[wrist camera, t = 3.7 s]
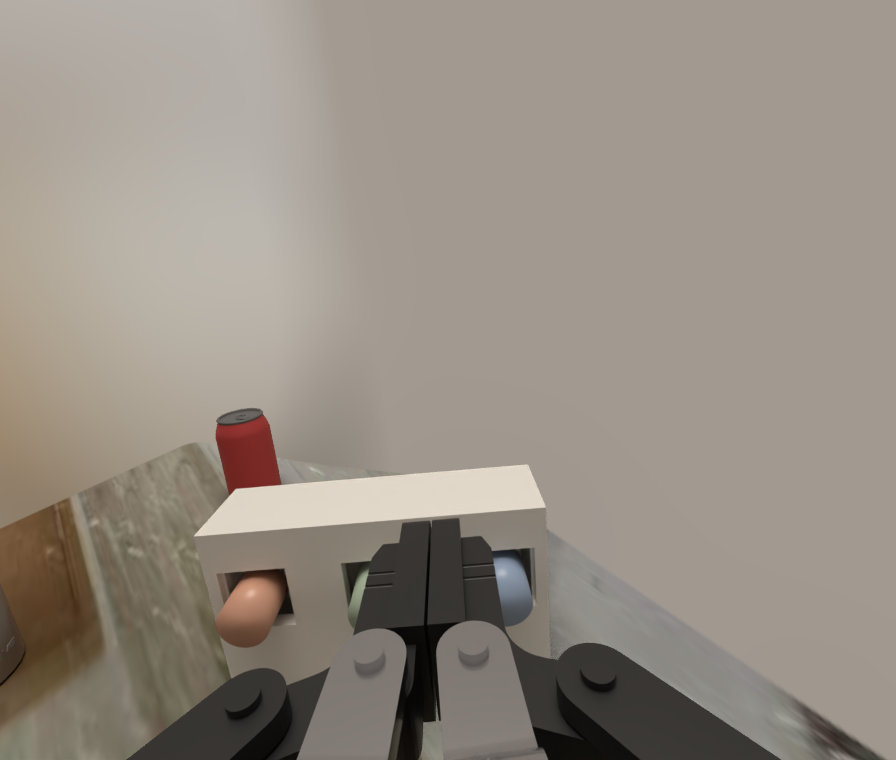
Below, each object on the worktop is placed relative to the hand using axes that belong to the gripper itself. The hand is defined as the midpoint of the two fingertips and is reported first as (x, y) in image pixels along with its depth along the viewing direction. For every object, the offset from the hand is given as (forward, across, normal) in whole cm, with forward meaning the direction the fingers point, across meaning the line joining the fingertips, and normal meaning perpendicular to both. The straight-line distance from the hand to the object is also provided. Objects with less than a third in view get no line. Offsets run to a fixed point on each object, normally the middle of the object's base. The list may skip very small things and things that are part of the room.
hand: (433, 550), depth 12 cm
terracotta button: (+14, +13, +14) cm, 24 cm away
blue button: (+14, -3, +15) cm, 21 cm away
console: (+18, +5, +22) cm, 29 cm away
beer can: (+46, +27, +22) cm, 57 cm away
